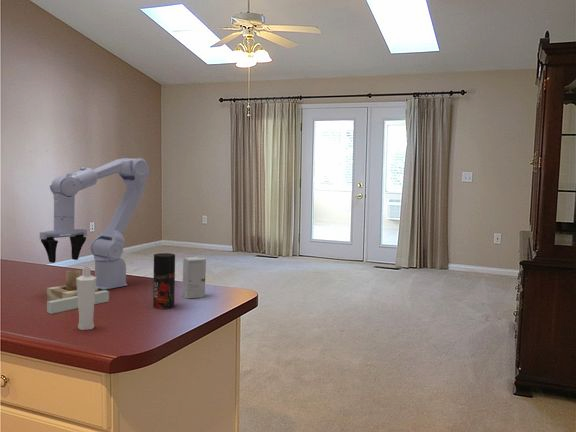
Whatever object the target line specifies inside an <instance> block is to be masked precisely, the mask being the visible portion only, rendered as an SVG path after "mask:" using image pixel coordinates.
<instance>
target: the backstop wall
mask: <svg viewBox="0 0 576 432" xmlns="http://www.w3.org/2000/svg"><path fill="white" fill-rule="evenodd" d="M109 301H110V291H109V290H107V289H106V290H100V291H99V290H98V292H95V301H94V306H95V305H98V304H103V303H104V304H105V303H107V302H109ZM75 309H76V310H77V309H78V296H73V297H68V298H63V299H58V300H52V301H47V300H46V313H47V314H50V315H51V314H52V315H53V314H57V313H63V312H66V311H71V310H75Z"/></svg>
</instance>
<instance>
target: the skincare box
mask: <svg viewBox="0 0 576 432" xmlns="http://www.w3.org/2000/svg"><path fill="white" fill-rule="evenodd" d="M182 260H183V263H182V264H183V265H182V294H181V296H182V297H183V298H185V299H197V298H205V296H206V271H207V270H206V268H207V259H206V258H204V257H201V256H198V257H195V256H194V257H193V256H192V257H183V259H182Z"/></svg>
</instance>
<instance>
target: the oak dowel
mask: <svg viewBox="0 0 576 432" xmlns="http://www.w3.org/2000/svg"><path fill="white" fill-rule="evenodd" d="M81 270H82V269H81ZM81 270H80V269H68V270H66V271H65V285H66V290H67V291H73V290H77V282H76V278H78V277H80V276H82V271H81Z"/></svg>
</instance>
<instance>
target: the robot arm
mask: <svg viewBox="0 0 576 432" xmlns="http://www.w3.org/2000/svg"><path fill="white" fill-rule="evenodd" d="M149 173H150V169H149V165H148V163H147V161H146V160H145V159H144V158H141V157H138V158H129V157H128V158H126V157H121V158H119V159H114V160H112V161H110V162H107V163H106V164H103V165H101V166H98V167H97V168H96V167H95V168H94V169H93V168H90V167H84V166H82V167H80V168H79V170H77V171H74V172H67V173H66V175H65V176H57V177H55V178H54V179H53V180H52V182H51V185H49V189H50V192H51V193H52V195H53V230H47V231H40V232H39V240H40V243H41V244H42V245H43V247H44V249H45V251H46V254H47V258H48V259H47V260H48V262H49V263H51V264H53V263H54V264H55V263H56V260H57V246H58V243H59V240H57V239H58V238H69V240H70V247H71V259H72V260H75V261H79V258H80V257H79V256H80V253H81V250H82V247H83V246H84V244H85V242H86V241H87V236H88V230H87V229H83V228H81V229H80V228H78V229H75V205H76V204H75V202H76V200H75V198H76V195H77V194H78V193H79V192H80V191H82V190H85V189H87V188H90V187H92V186H95V185H96V184H97V182H98V180H99V179H102V178H105V177H109V176H112V175H114V174H118V175H119V177H120V178H121V180H122V181H123V182H124V184H125V186H126V189H125V191H124V194H123V196H122V198H121V199H120V201H119V203H118V206H117V207H116V209H115V211H114V213H113V215H112V217H111V219H110V221H109V223H108V225H107V228H105V229H104V230H102V231H101V232H100V233H99V234H98V236H97V237H96V238H95V239H93V241H92V242H91V244H90V248H89V250H90V252H91V255H92V256H93V259H94V277H96V287H97V288H98V290H101V291H103V290H106V291H107V290H110V289H115V288H120V287H125V286H128V283H127V266H126V265H127V264H126V261H125V260H124V259H123V258H121V257H122V255H123V252H124V246H125V243H126V240H125V238H124V236H123V235H124V233H125V231H126V229H127V227H128V225H129V222H130V221H131V219H132V217H133V215H134V213H135V211H136V209H137V207H138V205H139V202H140V201H141V199H142V198H143V194H144V193H145V189H146V183H147V177H148V176H149Z"/></svg>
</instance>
